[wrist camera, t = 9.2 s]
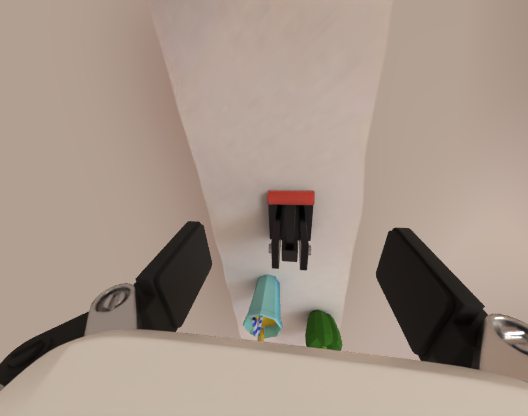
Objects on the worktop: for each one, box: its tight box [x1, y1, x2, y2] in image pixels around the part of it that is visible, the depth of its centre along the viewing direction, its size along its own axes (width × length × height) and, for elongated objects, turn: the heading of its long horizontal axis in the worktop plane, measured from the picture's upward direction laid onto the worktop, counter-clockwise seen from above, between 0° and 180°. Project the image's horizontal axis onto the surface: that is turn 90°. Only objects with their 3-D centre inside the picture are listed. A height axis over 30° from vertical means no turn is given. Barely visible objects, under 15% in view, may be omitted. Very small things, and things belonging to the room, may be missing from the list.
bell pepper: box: [305, 311, 342, 351], centre depth 45 cm, size 8×8×10 cm
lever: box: [267, 191, 315, 262], centre depth 25 cm, size 12×5×2 cm, turn 4°
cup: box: [243, 275, 282, 342], centre depth 39 cm, size 14×8×15 cm, turn 6°
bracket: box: [269, 204, 313, 270], centre depth 32 cm, size 10×8×12 cm
